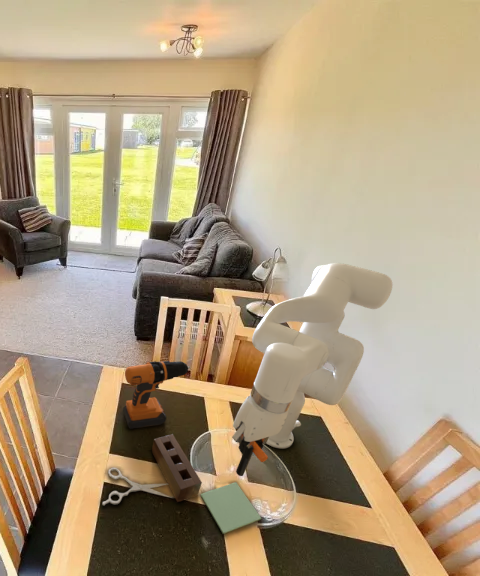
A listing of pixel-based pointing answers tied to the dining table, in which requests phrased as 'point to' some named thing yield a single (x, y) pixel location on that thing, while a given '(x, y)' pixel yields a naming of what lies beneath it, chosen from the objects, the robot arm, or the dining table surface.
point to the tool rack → (176, 468)
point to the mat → (230, 507)
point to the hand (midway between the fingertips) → (248, 451)
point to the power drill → (149, 391)
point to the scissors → (134, 488)
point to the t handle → (244, 461)
